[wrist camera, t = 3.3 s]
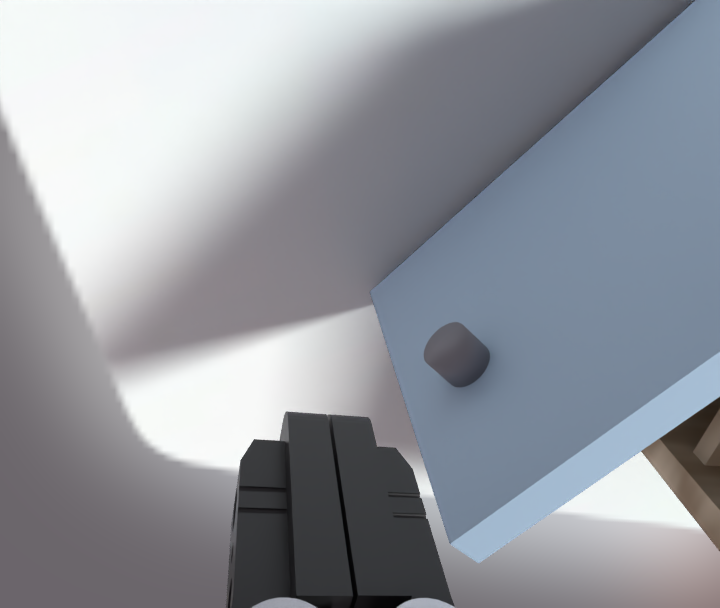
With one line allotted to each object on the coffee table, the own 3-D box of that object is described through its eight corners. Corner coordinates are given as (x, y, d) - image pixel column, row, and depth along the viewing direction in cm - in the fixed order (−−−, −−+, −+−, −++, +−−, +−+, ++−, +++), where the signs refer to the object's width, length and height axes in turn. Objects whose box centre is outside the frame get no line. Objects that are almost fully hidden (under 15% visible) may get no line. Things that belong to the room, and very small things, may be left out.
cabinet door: (775, -113, 20) (1443, -233, 9) (799, -54, 21) (1425, -91, 10) (351, 275, 25) (419, 523, 14) (387, 307, 27) (478, 563, 15)
